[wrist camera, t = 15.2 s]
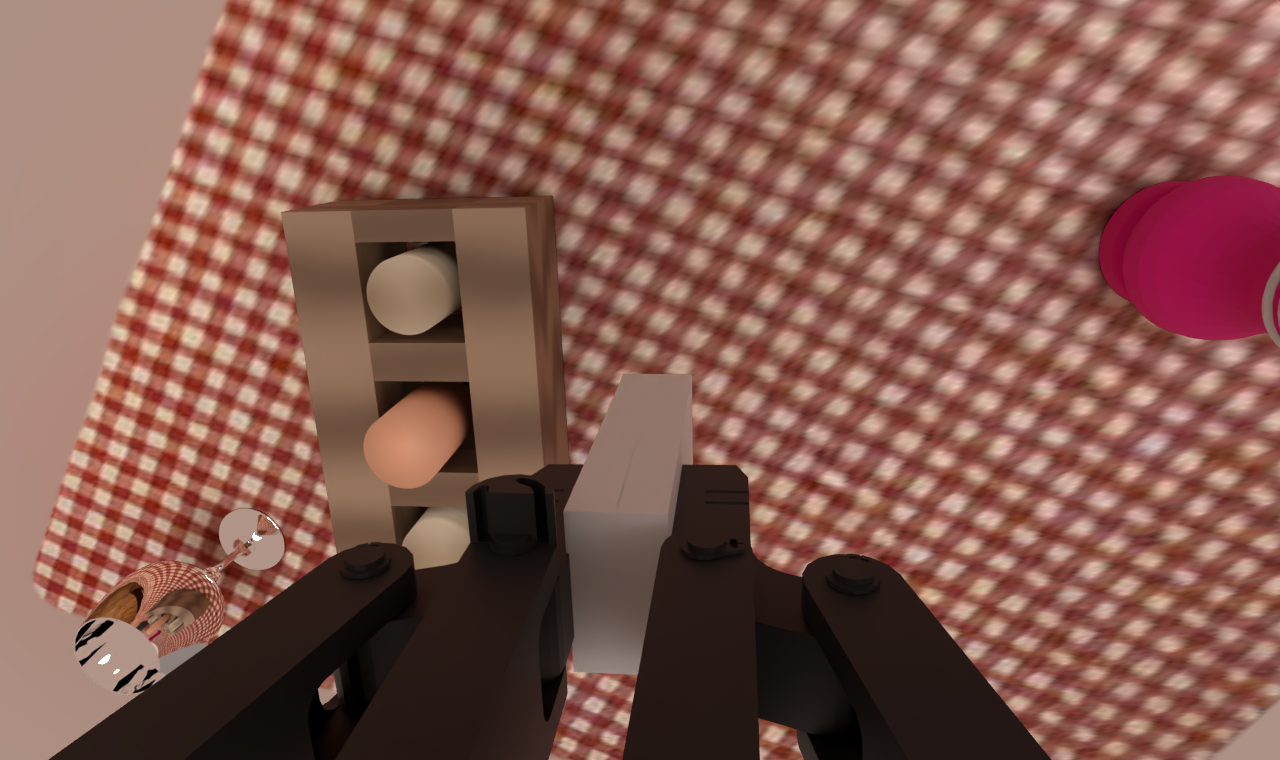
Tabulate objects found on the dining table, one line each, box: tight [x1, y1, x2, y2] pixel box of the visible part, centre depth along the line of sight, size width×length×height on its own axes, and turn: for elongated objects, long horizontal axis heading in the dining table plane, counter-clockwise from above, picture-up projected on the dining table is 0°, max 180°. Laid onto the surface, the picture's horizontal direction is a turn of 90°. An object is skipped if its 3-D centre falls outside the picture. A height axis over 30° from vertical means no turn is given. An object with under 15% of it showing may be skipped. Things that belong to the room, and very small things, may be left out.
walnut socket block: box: [281, 196, 569, 554], centre depth 44 cm, size 22×12×6 cm, turn 2°
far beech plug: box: [402, 507, 470, 570], centre depth 45 cm, size 4×4×6 cm
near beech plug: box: [367, 241, 462, 335], centre depth 41 cm, size 4×4×6 cm
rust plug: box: [363, 381, 474, 489], centre depth 41 cm, size 4×4×6 cm
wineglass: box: [73, 508, 285, 695], centre depth 46 cm, size 6×6×12 cm
